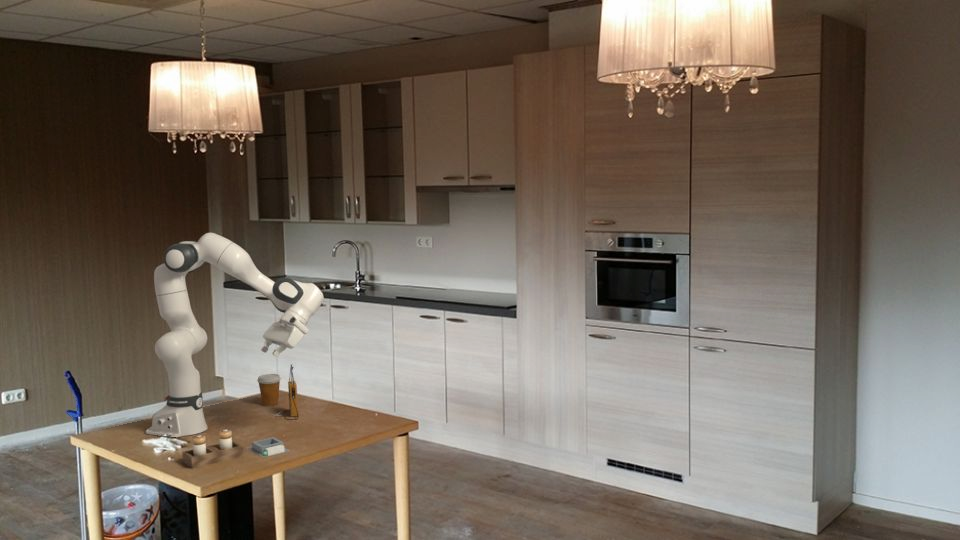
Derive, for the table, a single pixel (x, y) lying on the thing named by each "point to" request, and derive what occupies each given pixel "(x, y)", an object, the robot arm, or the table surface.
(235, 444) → the rack
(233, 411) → the table surface
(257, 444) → the checker
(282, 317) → the robot arm
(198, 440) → the cell
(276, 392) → the disposable coffee cup
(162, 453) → the table surface
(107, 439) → the table surface
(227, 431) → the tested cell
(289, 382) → the multimeter
